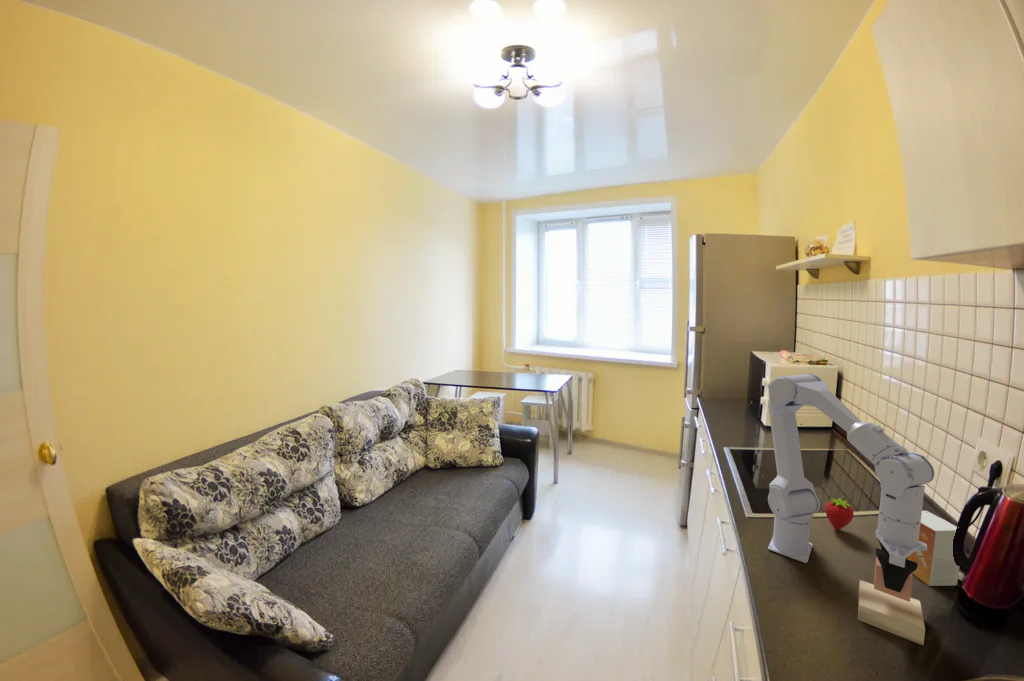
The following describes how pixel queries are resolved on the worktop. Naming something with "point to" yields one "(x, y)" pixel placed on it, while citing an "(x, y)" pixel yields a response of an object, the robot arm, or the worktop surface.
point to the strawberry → (839, 513)
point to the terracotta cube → (880, 586)
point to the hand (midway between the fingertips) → (892, 581)
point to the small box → (936, 552)
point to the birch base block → (891, 613)
